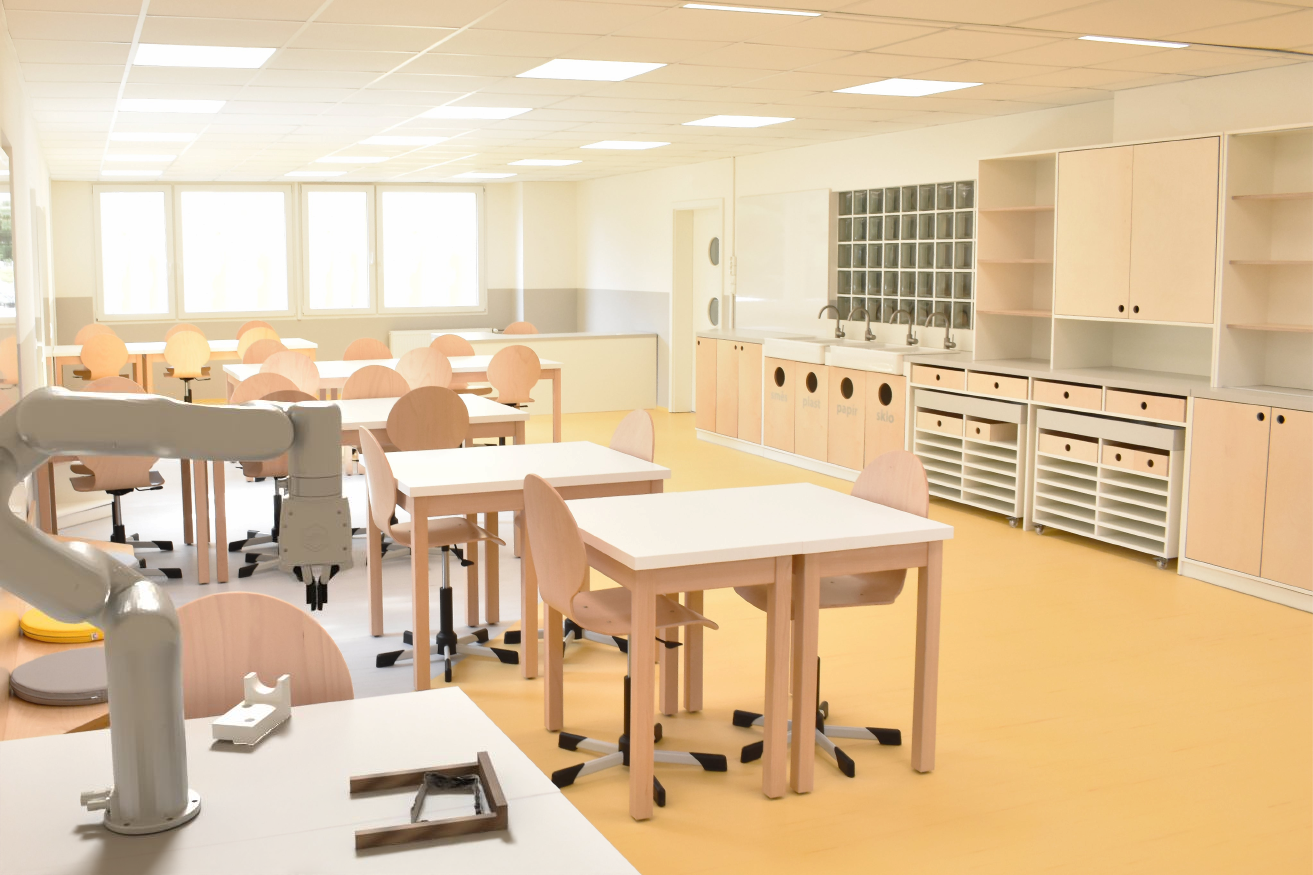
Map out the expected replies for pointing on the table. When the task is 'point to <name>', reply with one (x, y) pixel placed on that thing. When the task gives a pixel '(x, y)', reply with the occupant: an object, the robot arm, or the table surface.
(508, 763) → the table surface
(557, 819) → the table surface
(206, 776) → the table surface
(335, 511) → the robot arm
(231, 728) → the bracket
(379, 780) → the stop bay
